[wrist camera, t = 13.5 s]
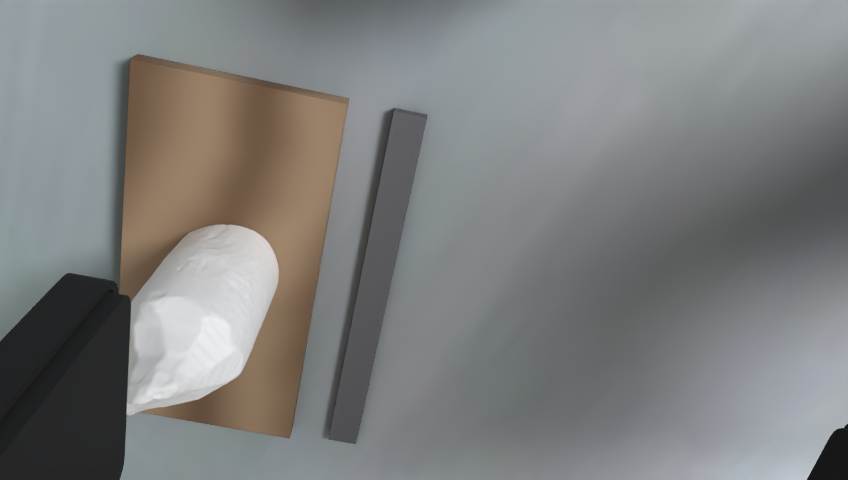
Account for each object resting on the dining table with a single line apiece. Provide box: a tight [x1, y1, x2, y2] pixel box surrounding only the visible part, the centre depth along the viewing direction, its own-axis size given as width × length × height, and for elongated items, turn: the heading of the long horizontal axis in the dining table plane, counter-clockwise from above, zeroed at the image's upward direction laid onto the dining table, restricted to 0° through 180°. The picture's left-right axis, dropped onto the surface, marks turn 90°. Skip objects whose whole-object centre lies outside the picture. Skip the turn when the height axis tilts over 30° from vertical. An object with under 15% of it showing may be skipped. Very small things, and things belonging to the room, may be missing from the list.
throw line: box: [329, 108, 427, 444], centre depth 41 cm, size 2×20×1 cm, turn 168°
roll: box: [126, 224, 279, 416], centre depth 34 cm, size 6×12×6 cm
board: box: [119, 54, 349, 438], centre depth 40 cm, size 10×20×1 cm, turn 168°
